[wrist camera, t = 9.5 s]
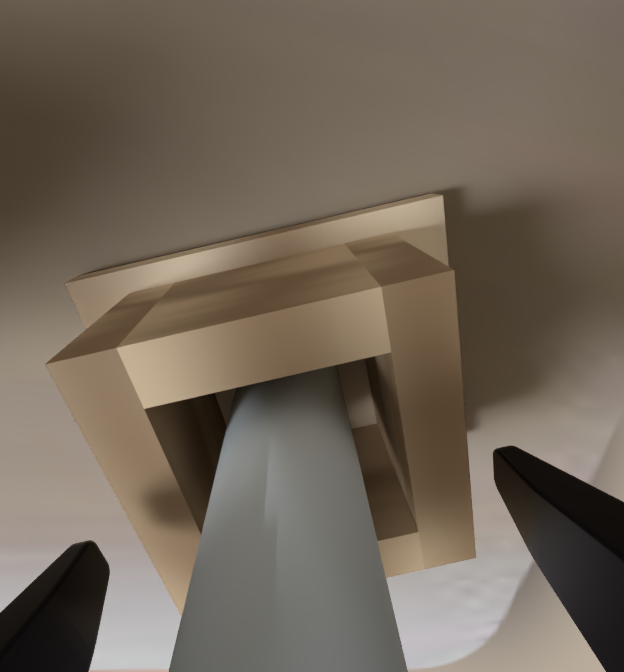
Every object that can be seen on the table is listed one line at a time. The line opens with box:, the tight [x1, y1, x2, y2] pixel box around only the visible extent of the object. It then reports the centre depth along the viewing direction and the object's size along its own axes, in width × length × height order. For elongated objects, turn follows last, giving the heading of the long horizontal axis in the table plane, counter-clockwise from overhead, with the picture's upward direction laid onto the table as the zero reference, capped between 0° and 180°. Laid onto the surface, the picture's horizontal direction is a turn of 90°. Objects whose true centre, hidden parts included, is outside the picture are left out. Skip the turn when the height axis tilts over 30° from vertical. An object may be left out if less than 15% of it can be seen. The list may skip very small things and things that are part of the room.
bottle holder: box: [45, 193, 476, 616], centre depth 13 cm, size 12×10×6 cm
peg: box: [169, 365, 408, 672], centre depth 10 cm, size 4×4×10 cm
